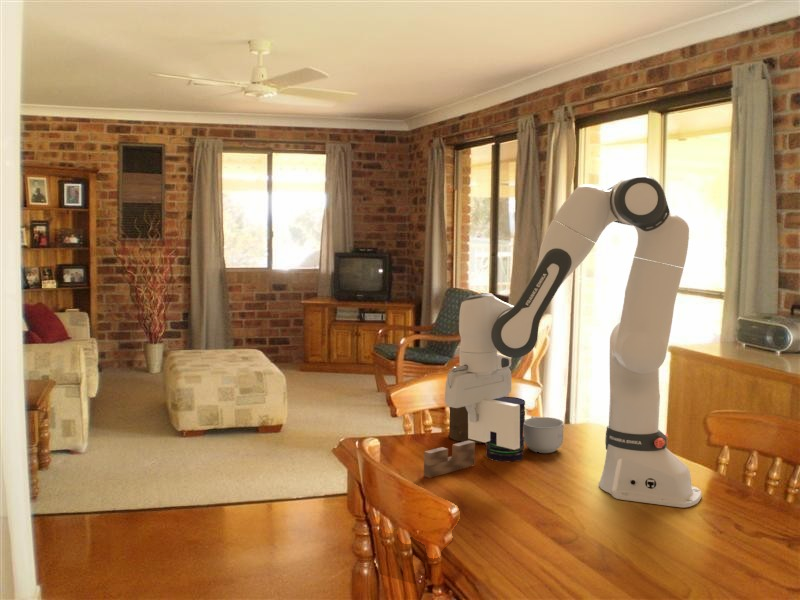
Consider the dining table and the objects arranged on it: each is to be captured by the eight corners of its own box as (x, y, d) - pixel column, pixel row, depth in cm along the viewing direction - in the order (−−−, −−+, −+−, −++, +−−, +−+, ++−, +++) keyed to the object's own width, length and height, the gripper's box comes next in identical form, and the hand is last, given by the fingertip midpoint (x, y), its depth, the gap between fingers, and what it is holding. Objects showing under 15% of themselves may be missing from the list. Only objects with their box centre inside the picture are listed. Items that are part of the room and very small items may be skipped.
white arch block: (519, 448, 187) (519, 404, 186) (514, 449, 186) (514, 406, 185) (473, 436, 197) (473, 395, 196) (468, 438, 196) (467, 397, 195)
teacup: (566, 456, 216) (567, 426, 215) (524, 455, 216) (525, 425, 215) (556, 442, 229) (557, 414, 229) (518, 441, 230) (519, 413, 229)
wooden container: (497, 431, 241) (499, 356, 239) (505, 444, 226) (507, 365, 224) (446, 430, 240) (448, 356, 238) (451, 444, 225) (453, 365, 223)
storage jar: (528, 454, 216) (530, 399, 215) (516, 464, 208) (518, 406, 206) (493, 449, 221) (495, 394, 219) (479, 458, 212) (481, 401, 211)
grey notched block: (468, 463, 207) (469, 440, 207) (474, 465, 206) (475, 441, 205) (423, 476, 196) (424, 451, 196) (429, 478, 195) (430, 453, 194)
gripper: (458, 369, 184) (458, 430, 185) (515, 358, 198) (516, 415, 199) (437, 366, 188) (438, 426, 189) (495, 356, 202) (496, 411, 203)
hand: (478, 420), depth 194 cm, fingers closed on white arch block, 2 cm apart
